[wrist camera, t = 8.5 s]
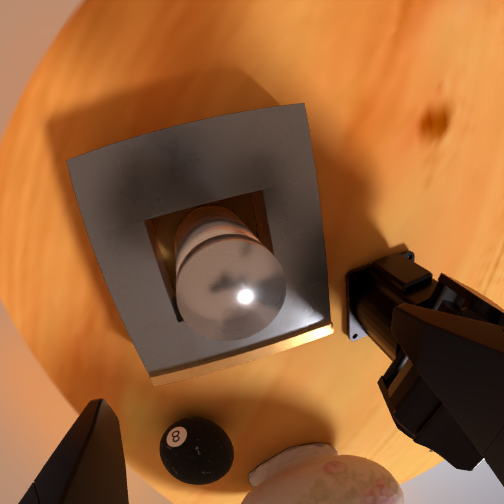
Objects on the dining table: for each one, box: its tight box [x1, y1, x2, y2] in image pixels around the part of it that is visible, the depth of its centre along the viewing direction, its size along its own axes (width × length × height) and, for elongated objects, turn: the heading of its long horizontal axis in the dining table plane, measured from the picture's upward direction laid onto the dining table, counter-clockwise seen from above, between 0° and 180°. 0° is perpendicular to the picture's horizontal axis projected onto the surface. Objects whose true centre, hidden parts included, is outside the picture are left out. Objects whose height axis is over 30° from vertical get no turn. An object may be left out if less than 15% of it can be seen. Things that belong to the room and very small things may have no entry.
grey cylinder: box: [175, 205, 287, 341], centre depth 15 cm, size 4×4×7 cm
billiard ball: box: [160, 418, 234, 485], centre depth 21 cm, size 6×6×6 cm
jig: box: [67, 103, 333, 386], centre depth 17 cm, size 14×12×3 cm
